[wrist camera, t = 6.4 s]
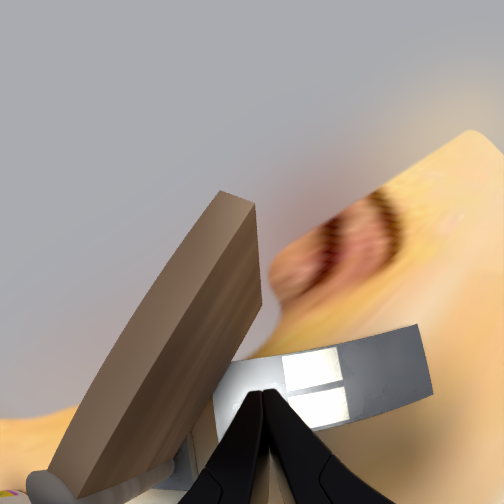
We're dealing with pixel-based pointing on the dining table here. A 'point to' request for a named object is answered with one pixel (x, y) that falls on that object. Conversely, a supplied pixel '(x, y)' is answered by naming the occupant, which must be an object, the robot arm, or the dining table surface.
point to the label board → (321, 387)
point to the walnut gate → (161, 365)
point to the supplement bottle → (13, 497)
